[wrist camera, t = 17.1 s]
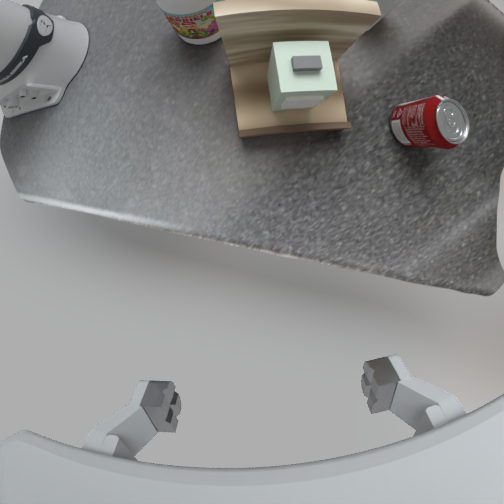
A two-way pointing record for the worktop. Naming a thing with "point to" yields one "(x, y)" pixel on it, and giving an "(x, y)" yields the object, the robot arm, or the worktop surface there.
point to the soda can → (430, 123)
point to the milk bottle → (192, 19)
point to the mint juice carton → (300, 74)
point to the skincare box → (384, 8)
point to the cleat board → (283, 30)
